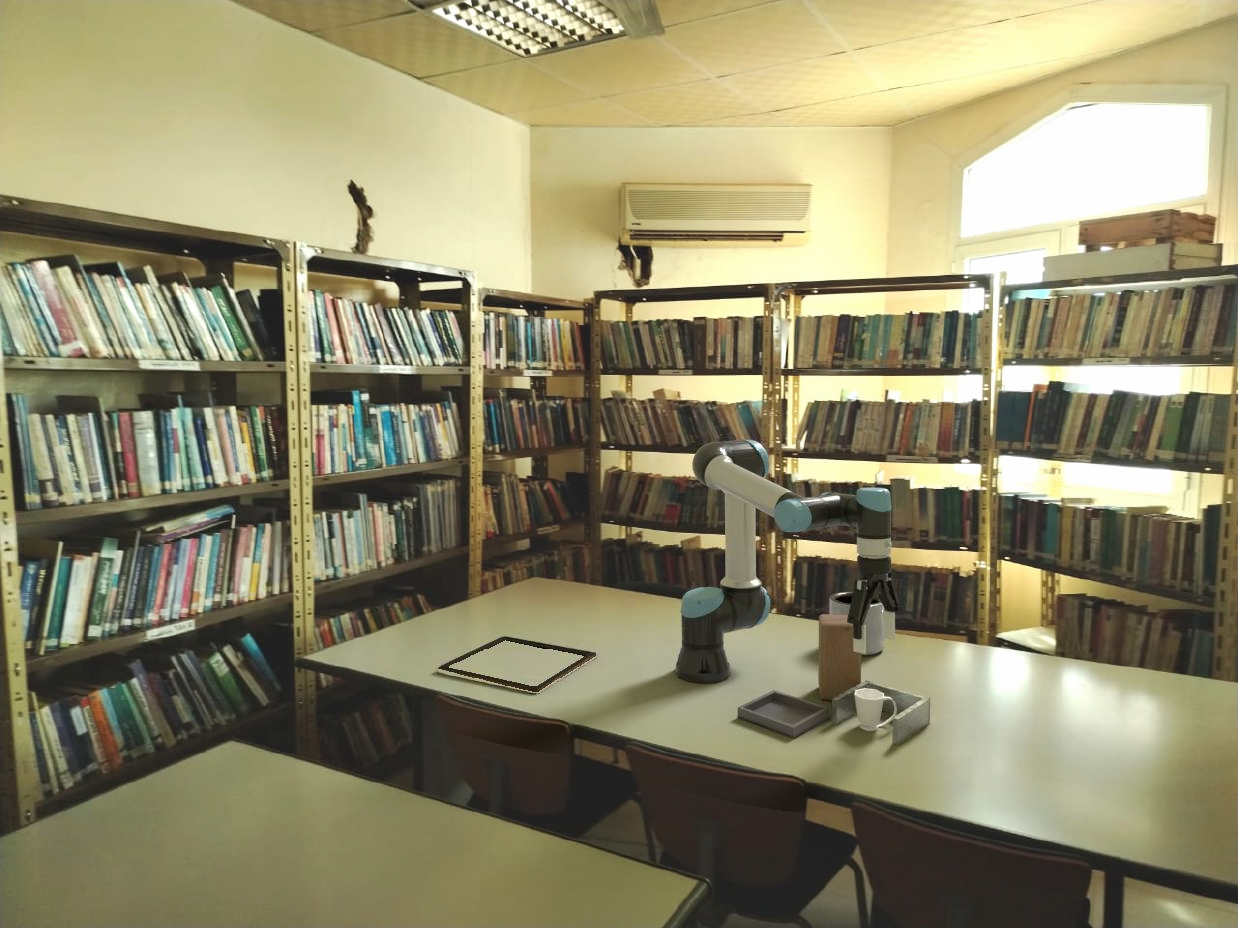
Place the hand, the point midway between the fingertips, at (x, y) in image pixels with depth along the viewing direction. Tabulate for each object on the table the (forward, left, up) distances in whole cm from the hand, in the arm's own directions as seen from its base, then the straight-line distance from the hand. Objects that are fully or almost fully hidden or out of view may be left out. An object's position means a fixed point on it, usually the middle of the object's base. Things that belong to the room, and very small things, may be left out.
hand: (874, 645), depth 180 cm
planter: (-30, +46, -20) cm, 58 cm away
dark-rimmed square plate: (-93, -34, -20) cm, 102 cm away
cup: (+1, 0, -20) cm, 20 cm away
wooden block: (-15, +11, -20) cm, 27 cm away
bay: (+1, +2, -19) cm, 20 cm away
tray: (-17, -11, -19) cm, 28 cm away
